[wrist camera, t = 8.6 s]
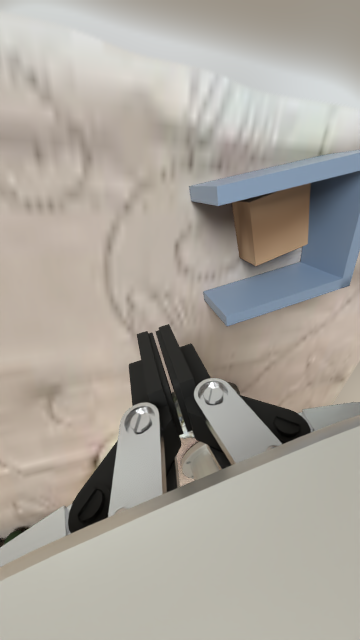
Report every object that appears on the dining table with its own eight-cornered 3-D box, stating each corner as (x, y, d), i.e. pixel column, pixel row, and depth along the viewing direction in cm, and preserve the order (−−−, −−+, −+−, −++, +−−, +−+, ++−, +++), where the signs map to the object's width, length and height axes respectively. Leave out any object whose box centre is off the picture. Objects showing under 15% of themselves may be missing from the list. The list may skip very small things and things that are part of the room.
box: (307, 268, 24) (349, 285, 20) (204, 300, 22) (226, 326, 18) (325, 154, 18) (389, 145, 14) (189, 186, 16) (216, 186, 12)
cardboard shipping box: (284, 237, 21) (307, 244, 19) (238, 256, 21) (255, 266, 18) (283, 179, 18) (310, 178, 16) (230, 200, 18) (249, 202, 16)
